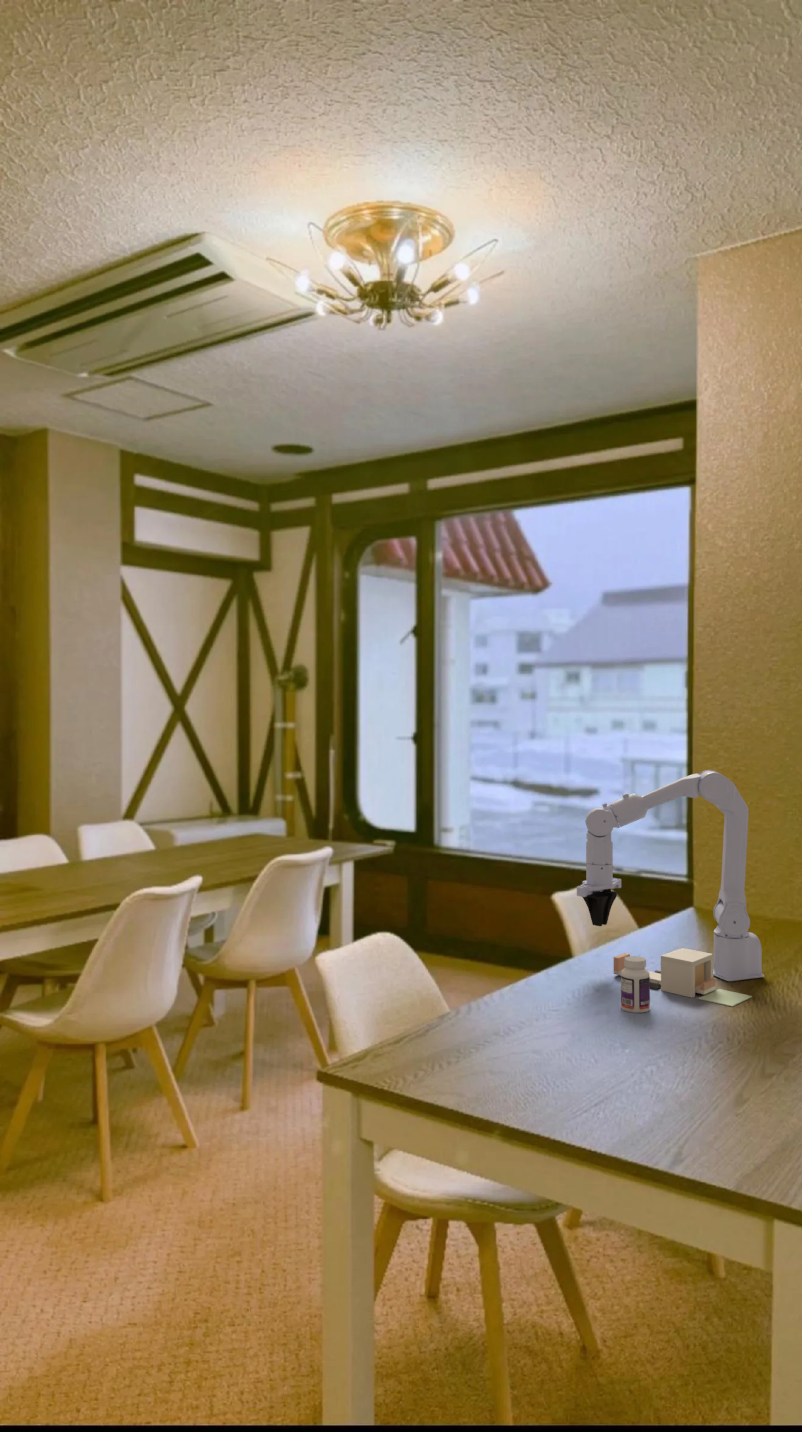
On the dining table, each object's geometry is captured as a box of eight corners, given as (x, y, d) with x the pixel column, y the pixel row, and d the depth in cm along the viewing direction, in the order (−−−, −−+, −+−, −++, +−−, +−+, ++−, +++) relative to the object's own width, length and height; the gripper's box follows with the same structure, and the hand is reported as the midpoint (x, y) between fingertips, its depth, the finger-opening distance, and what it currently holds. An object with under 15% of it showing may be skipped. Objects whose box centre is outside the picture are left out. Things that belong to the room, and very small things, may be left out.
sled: (625, 969, 208) (625, 946, 208) (715, 989, 193) (715, 965, 193) (613, 973, 205) (613, 950, 205) (704, 994, 190) (704, 969, 190)
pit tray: (656, 976, 205) (656, 970, 205) (677, 980, 201) (677, 975, 201) (635, 984, 199) (635, 978, 199) (656, 989, 195) (656, 983, 195)
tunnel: (682, 981, 200) (682, 947, 200) (713, 988, 196) (713, 954, 195) (660, 990, 194) (660, 955, 194) (692, 997, 189) (692, 962, 189)
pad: (719, 989, 195) (719, 988, 195) (752, 997, 190) (752, 996, 190) (698, 999, 189) (698, 998, 189) (732, 1006, 184) (732, 1005, 184)
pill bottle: (647, 1005, 185) (647, 955, 185) (652, 1014, 180) (651, 962, 180) (619, 1004, 186) (619, 954, 186) (622, 1013, 180) (622, 962, 180)
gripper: (602, 857, 218) (602, 916, 218) (564, 865, 207) (565, 927, 208) (629, 860, 213) (629, 921, 213) (592, 868, 202) (592, 932, 202)
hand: (599, 924), depth 210 cm, fingers closed
